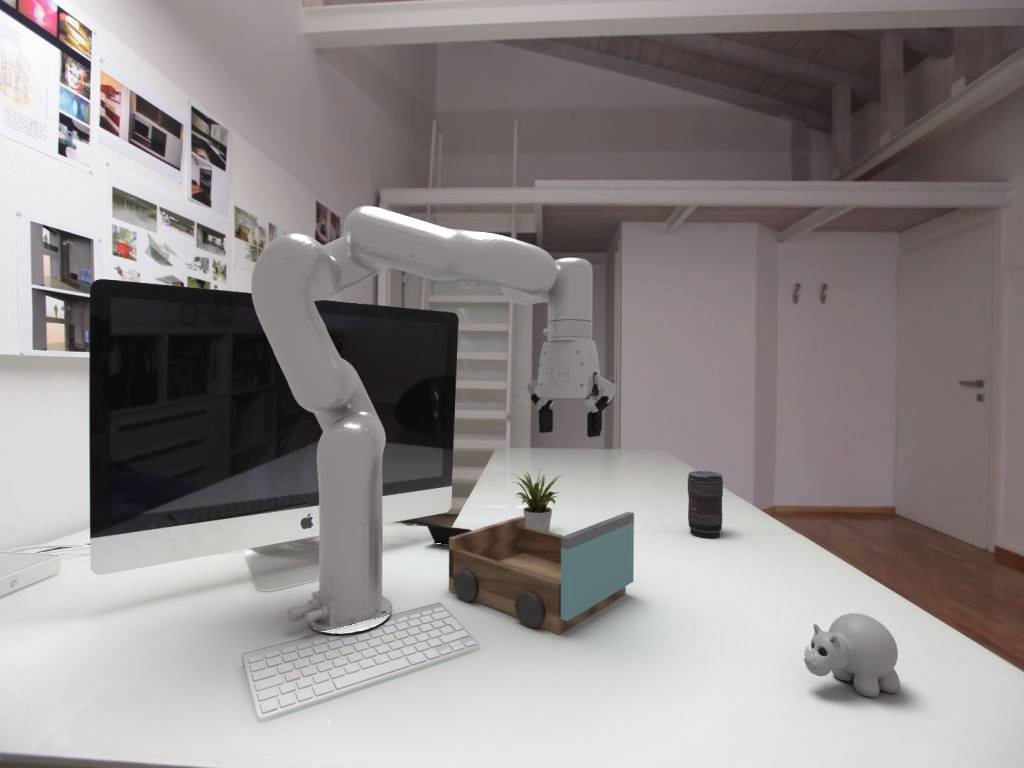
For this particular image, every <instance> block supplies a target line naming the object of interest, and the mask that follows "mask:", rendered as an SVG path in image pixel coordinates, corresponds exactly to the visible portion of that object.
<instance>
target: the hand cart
mask: <svg viewBox="0 0 1024 768" xmlns="http://www.w3.org/2000/svg"><path fill="white" fill-rule="evenodd" d="M563 536H564V535H562V534H558V533H557V534H556V533H552V532H550V531H549V532H545V531H541V530H537V529H533V528H529V527H526V517H524V515H520V516H517V517H514V518H511V519H507V520H504V521H500V522H496V523H494V524H490V525H487V526H483V527H480V528H477V529H473V530H472V531H470V532H466V533H463V534H460V535H456V536H453V537H450V538H449V546H448V592H450V591H451V592H450V593H452V592H453V594H455V593H456V596H457V598H458V599H460V600H461V601H462V602H465V603H468V602H471V601H472V600H473V602H475V603H478V604H480V605H482V604H483V606H484V607H488V608H490V609H492V610H495V611H498V612H501V613H502V612H503V614H505V615H507V614H508V616H510V617H512V616H513V618H515V619H517V618H518V621H519V622H520V623H521V624H522V625H523V626H525V628H528V629H534V628H536V627H537V628H540V629H543V630H546V631H548V632H550V633H553V634H555V635H558V636H560V635H561V634H563V633H565V632H566V631H567V630H570V629H571V628H573V627H574V626H576V625H577V624H579V623H581V622H582V621H584V620H586V619H587V618H588V616H589V617H590V616H592V615H593V613H594V614H595V613H597V612H598V611H600V610H602V609H603V608H605V607H607V606H608V605H609V604H611V603H613V602H615V601H616V600H618V599H619V598H621V597H623V596H624V595H626V591H627V589H626V587H627V586H625V587H624V588H622V589H620V590H619V591H617V592H615V593H614V594H612V595H610V596H609V597H607V598H605V599H604V600H602V601H600V602H599V603H597V604H595V605H594V606H592V607H590V608H589V609H587V610H585V611H584V612H582V613H580V614H579V615H577V616H575V617H574V618H572V619H570V620H569V621H565V620H563V619H561V537H563ZM601 608H602V609H601ZM596 611H597V612H596ZM585 618H586V619H585ZM580 621H581V622H580ZM564 631H565V632H564ZM562 632H563V633H562ZM559 634H560V635H559Z"/></svg>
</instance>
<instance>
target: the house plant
mask: <svg viewBox="0 0 1024 768" xmlns="http://www.w3.org/2000/svg"><path fill="white" fill-rule="evenodd" d="M542 469H543V467H541V468H540V470H539V472H538V475H537V481H536V482H534V485H533V483H532V477H531V476H530V474H529V473H528V472H527V471H525V473H526V474H525V473H524V472H522V475H523V477H524V478H525V479H522V478H521V477H520V476H519V475H517V474H515V473H513V472H511V474H512V475H514V476H517V478H516V477H515V478H514V479H518V480H520V481H521V482H522V484H523V485H522V484H521V483H520V482H517V481H516V482H513V481H512V483H516V484H518V485H519V486H520V487H521V488H522V490H523V491H524V492H521V491H520V492H517V493H516V494H515V496H517V498H521V499H522V500H521V501H522V502H521V505H523V504H524V503H526V504H527V505H528V506H527V507H524V508H523V510H522V511H523V516H524V517H526V527H529V528H533V529H537V530H541V531H545V532H549V533H550V525H551V520H552V516H553V515H552V513H553V509H552V508H551V507H548V505H549V503H550V502H552V503H553V504H554V506H555V504H556V499H555V498H556V497H559V495H555V494H559V492H557V491H556V492H554V491H552V490H551V491H549V490H550V489H551V488H552V486H553V485H554V484H555V483H556V481H558V479H559V478H560V477H562V476H563V474H560V475H557V476H556V477H555V478H553V479H552V480H551V482H549V484H548V485H547V486H546V487H545V482H546V478H545V477H546V475H547V473H546V474H545V473H544V474H543V476H542V477H541V478H540V473H541V471H542ZM507 473H508V474H509V472H507ZM525 480H526V481H525ZM544 487H545V489H544ZM528 493H529V494H528ZM530 497H531V498H530Z"/></svg>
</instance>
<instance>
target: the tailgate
mask: <svg viewBox="0 0 1024 768" xmlns="http://www.w3.org/2000/svg"><path fill="white" fill-rule="evenodd" d="M634 529H635V513H634V512H630V511H626V512H624V513H621V514H618V515H615V516H614V517H610V518H608V519H605V520H603V521H599V522H597V523H595V524H592V525H590V526H587V527H584V528H582V529H578V530H576V531H574V532H571V533H568V534H565V535H562V536H563V537H561V619H563V620H565V621H569V620H570V619H572V618H574V617H575V616H577V615H579V614H580V613H582V612H584V611H585V610H587V609H589V608H590V607H592V606H594V605H595V604H597V603H599V602H600V601H602V600H604V599H605V598H607V597H609V596H610V595H612V594H614V593H615V592H617V591H619V590H620V589H622V588H624V587H625V586H626V587H627V586H628V585H631V584H632V583H634V568H635V567H634V564H635V563H634V559H635V558H634V555H635V554H634V551H635V550H634V549H635V548H634V542H635V541H634V539H635V532H634V531H635V530H634Z"/></svg>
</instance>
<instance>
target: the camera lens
mask: <svg viewBox="0 0 1024 768" xmlns="http://www.w3.org/2000/svg"><path fill="white" fill-rule="evenodd" d="M723 493H724V479H723V476H722V474H721V473H719V472H715V471H707V470H695V471H690V472H688V476H687V494H688V504H687V505H688V509H687V519H688V527H689V529H690V531H689V532H690V534H691V535H693V536H696V537H698V538H704V539H716V538H719V537H720V535H721V530H722V527H723V496H724V494H723Z"/></svg>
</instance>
